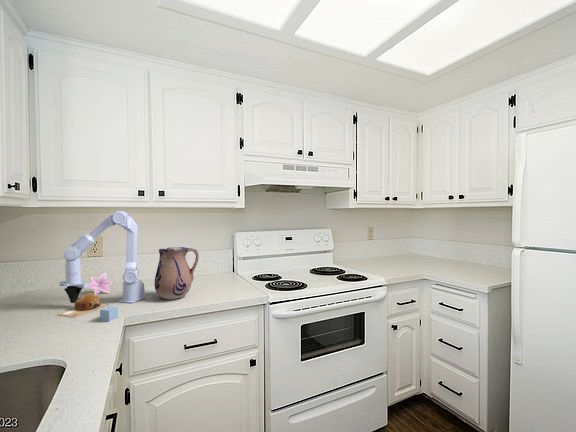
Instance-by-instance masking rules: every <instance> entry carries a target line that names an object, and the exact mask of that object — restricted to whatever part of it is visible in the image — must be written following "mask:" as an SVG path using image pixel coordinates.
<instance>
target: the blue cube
mask: <svg viewBox="0 0 576 432" xmlns="http://www.w3.org/2000/svg"><path fill="white" fill-rule="evenodd" d="M116 319H119V307H118V306H112V305H111V306H110V305H108V306H105V307H102V308H100V309H99V321H101V322H108V323H110V322H112V321H114V320H116Z"/></svg>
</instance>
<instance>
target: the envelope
mask: <svg viewBox="0 0 576 432" xmlns="http://www.w3.org/2000/svg"><path fill="white" fill-rule="evenodd" d="M106 307H108V304H106V303H101V305H100V306H99V307H98V308H95V309H92V310H87V311H79V310H76V309H75V307H74V308H70V309H68V310H66V311H63V312H61V313H57V314H56V316H62V317H69V318H70V317H71V318H77V317H81V316H83V315H85V314H88V313H92V312H94V311H97V310H100V309H103V308H106Z"/></svg>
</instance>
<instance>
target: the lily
mask: <svg viewBox="0 0 576 432" xmlns="http://www.w3.org/2000/svg"><path fill="white" fill-rule="evenodd" d="M107 276H108V275H107V272H104V273H102V274H101V275H100V276H99V277H96V276H90V278H91V280H92V282H89V283H88V287H87V289H92V290H93V292H94V293H93V294H97V295H98V294H100V292H104V293H106V294H111V290H110V285H112V284H113V283H114V282H113V281H111V280H107V279H108V277H107Z"/></svg>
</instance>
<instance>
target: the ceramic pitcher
mask: <svg viewBox="0 0 576 432" xmlns="http://www.w3.org/2000/svg"><path fill="white" fill-rule="evenodd" d="M158 252H159V260H158V265H157V268H156V272H155V276H154V284H153V285H154V289H155V292H156V293H157V295H158V296H159V297H161V299H164V300H168V301H169V300H170V301H171V300H172V301H173V300H177V299H180V298H184V297H185V295H187V294H188V293H189V292H190V290H191V287H192V283H193V282H194V278H195V277H194V272H195V270H196V267H197V265H198V262H199V259H200V258H199V254H200V253H199V252H198V250H197V249H196V248H194V247H184V246H171V247H166V248H160V249H159V248H158ZM189 252H193V253H194V254H195V260H194V263H193V265H192V267H191V268H190V266H189V263H188V262H187V259H186V256H187V254H188V253H189Z"/></svg>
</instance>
